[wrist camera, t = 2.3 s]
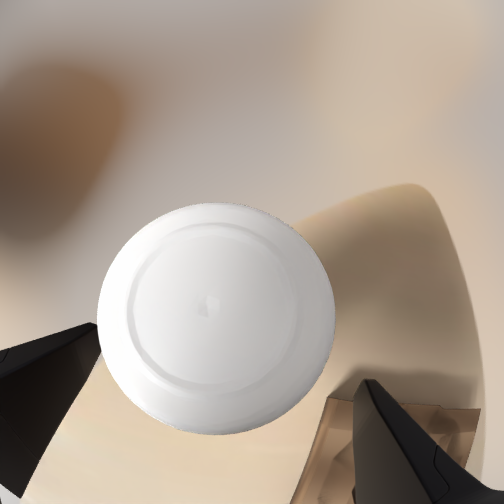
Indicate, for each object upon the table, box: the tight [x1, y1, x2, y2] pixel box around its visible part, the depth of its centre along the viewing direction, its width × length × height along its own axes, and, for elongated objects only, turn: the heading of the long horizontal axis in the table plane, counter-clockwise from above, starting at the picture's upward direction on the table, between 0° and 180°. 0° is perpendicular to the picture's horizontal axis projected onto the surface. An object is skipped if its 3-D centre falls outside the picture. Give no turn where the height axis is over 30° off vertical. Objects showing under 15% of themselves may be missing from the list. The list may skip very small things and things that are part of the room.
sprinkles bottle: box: [97, 202, 336, 435], centre depth 10 cm, size 5×5×14 cm
